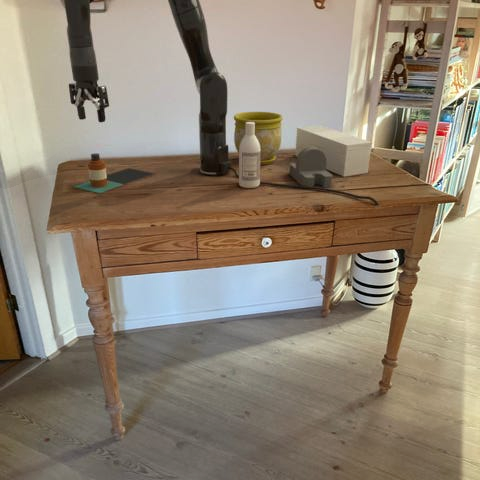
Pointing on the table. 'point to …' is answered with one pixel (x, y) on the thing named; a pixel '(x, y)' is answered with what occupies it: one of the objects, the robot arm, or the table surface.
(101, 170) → the soap bottle
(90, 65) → the robot arm
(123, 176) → the mat
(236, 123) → the flowerpot
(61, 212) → the table surface
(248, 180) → the bath foam
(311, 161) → the bracket
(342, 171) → the white rectangular box
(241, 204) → the table surface
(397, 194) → the table surface
